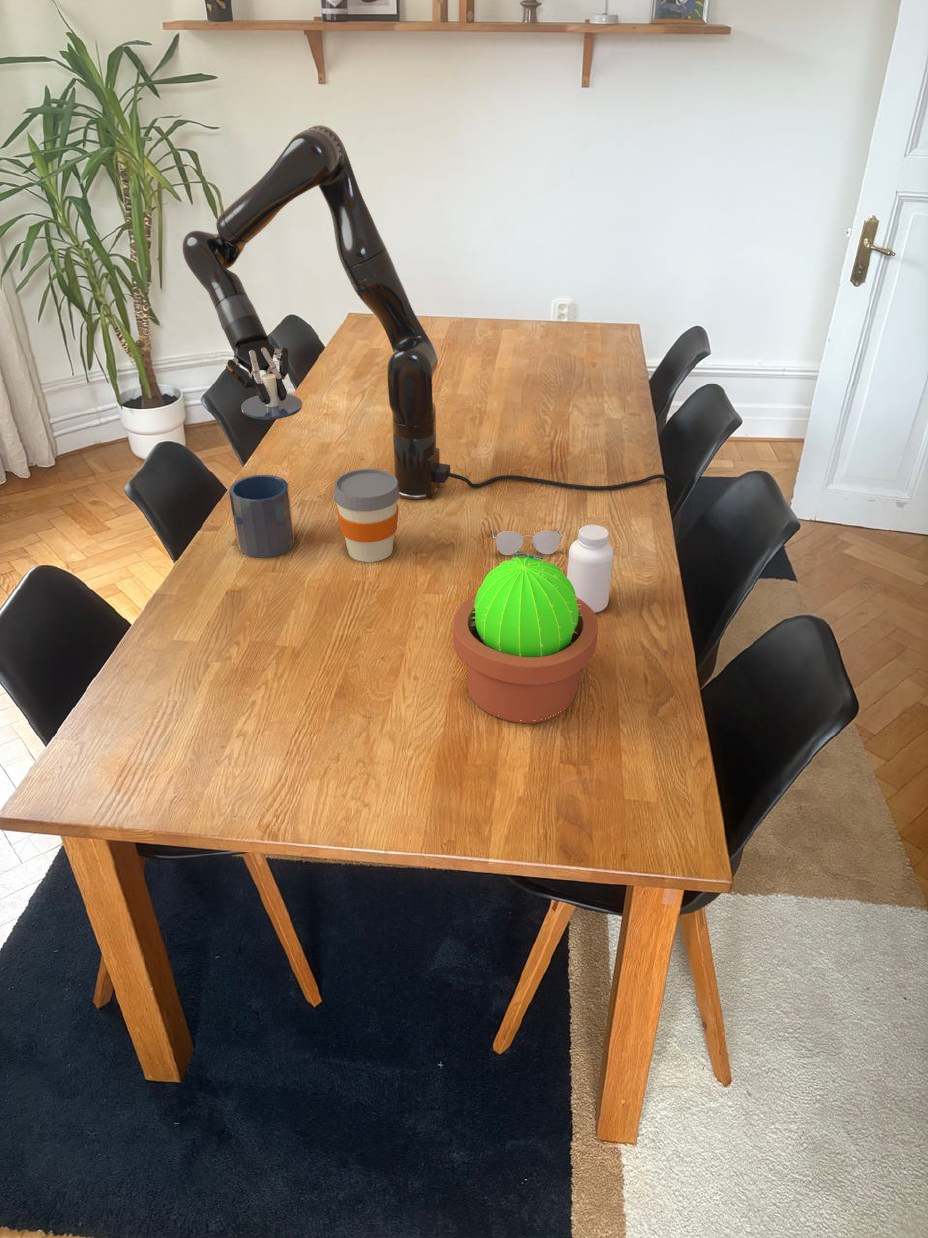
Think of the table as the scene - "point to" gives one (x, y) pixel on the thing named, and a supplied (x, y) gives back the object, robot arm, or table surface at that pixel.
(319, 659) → the table surface
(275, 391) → the lid
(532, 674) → the potted cactus
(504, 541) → the sunglasses
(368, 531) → the reusable coffee cup
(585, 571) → the pill bottle
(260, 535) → the blue handleless cup
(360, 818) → the table surface
